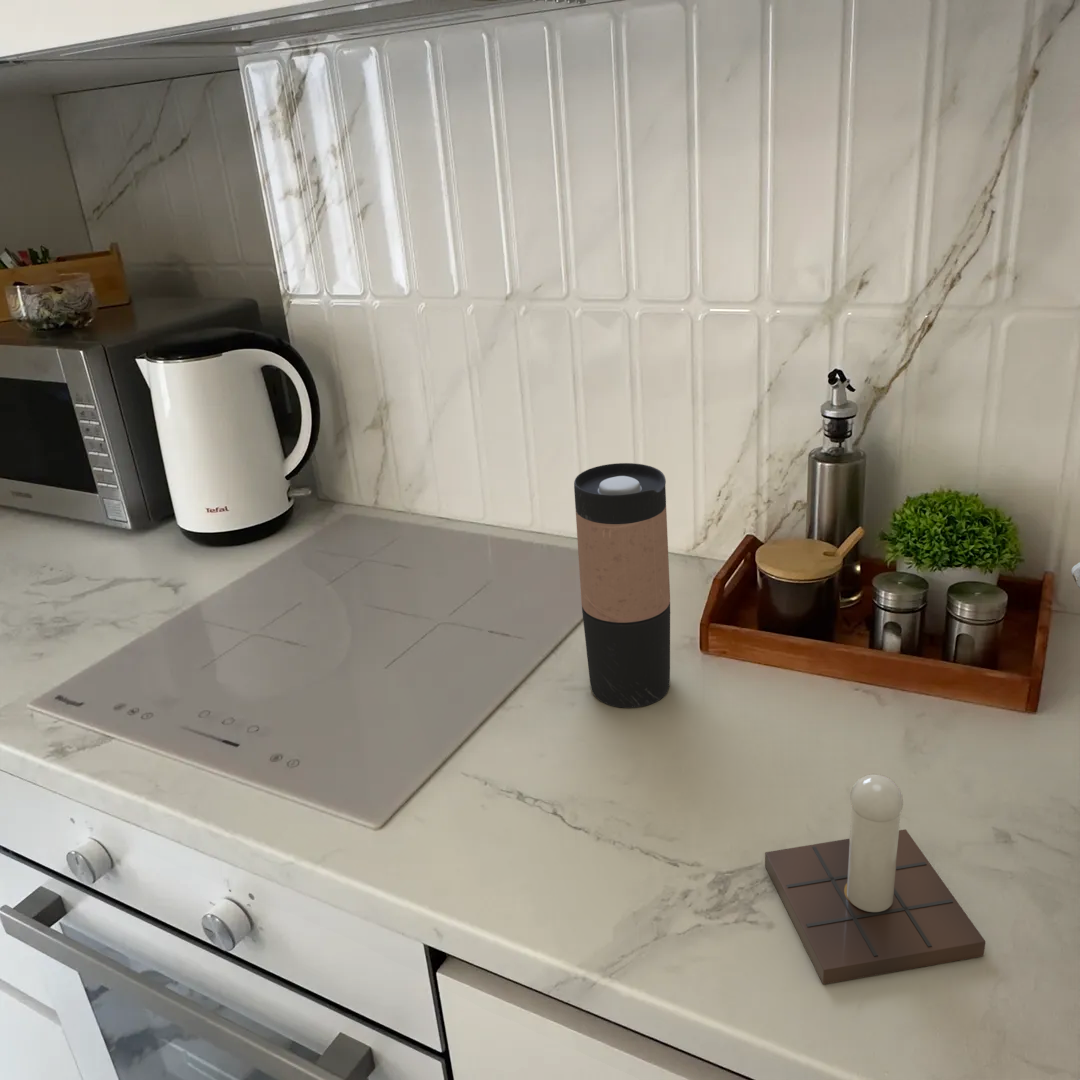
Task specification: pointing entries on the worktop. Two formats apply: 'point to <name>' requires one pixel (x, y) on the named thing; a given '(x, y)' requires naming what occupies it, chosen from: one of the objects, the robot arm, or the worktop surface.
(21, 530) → the worktop surface
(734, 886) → the worktop surface
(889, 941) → the board
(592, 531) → the travel mug
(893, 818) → the white round-top peg
